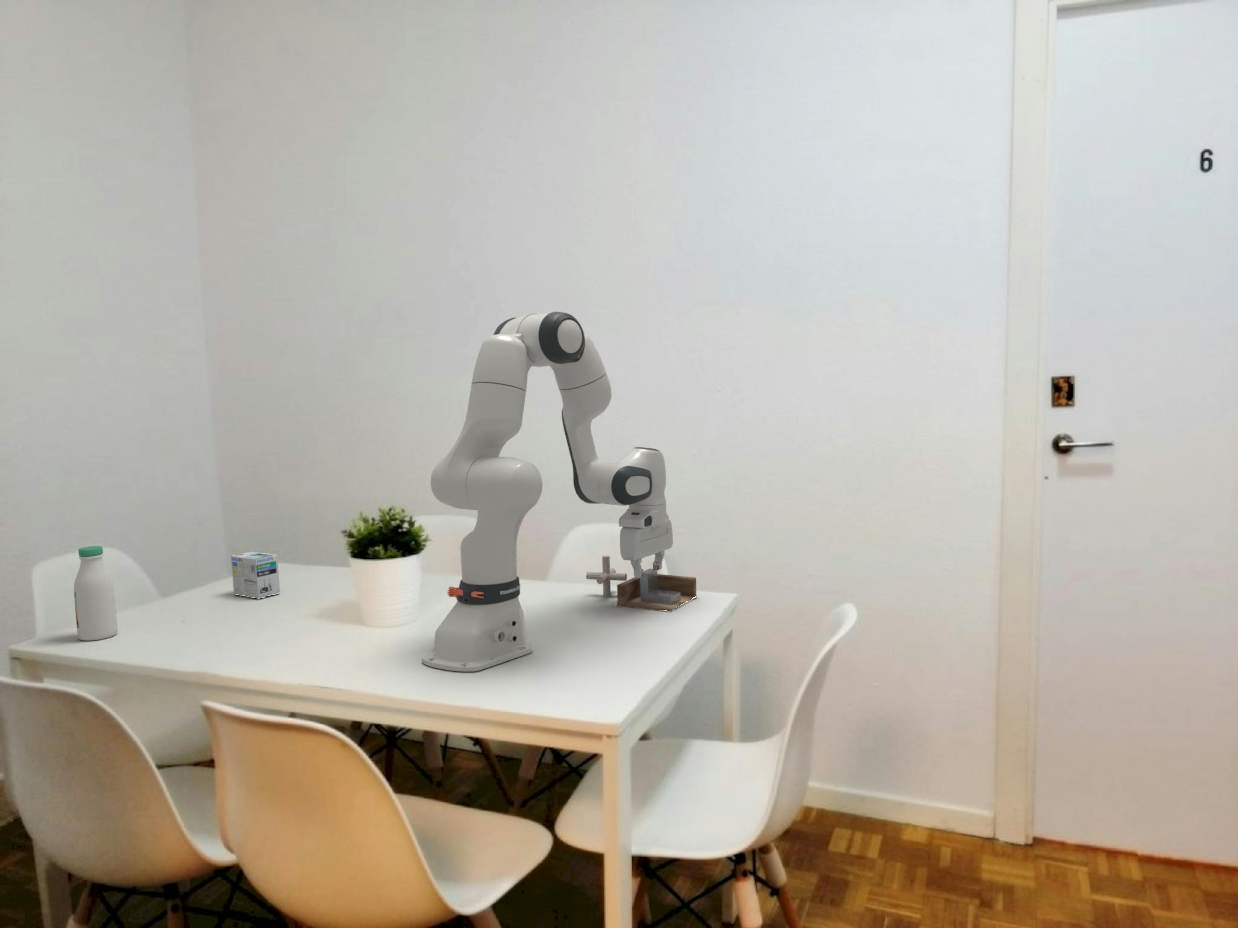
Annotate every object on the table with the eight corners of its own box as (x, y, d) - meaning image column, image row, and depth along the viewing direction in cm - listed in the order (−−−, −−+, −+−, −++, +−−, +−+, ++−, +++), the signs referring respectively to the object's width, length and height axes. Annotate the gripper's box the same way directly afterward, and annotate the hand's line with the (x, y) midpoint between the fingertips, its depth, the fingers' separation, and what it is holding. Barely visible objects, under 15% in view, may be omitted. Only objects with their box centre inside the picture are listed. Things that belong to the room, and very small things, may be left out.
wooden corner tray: (670, 611, 207) (670, 590, 206) (617, 605, 214) (617, 584, 213) (696, 597, 219) (696, 577, 218) (645, 592, 226) (644, 572, 225)
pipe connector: (581, 600, 220) (579, 559, 219) (594, 590, 229) (593, 551, 228) (620, 602, 217) (619, 561, 216) (632, 592, 226) (631, 552, 225)
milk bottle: (126, 632, 202) (118, 544, 200) (97, 642, 195) (89, 551, 193) (98, 630, 205) (90, 543, 203) (69, 640, 197) (61, 550, 195)
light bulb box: (281, 594, 235) (278, 553, 234) (258, 600, 229) (255, 558, 228) (255, 590, 240) (252, 550, 239) (232, 595, 235) (229, 555, 234)
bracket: (640, 601, 214) (640, 572, 214) (650, 596, 219) (649, 568, 218) (671, 605, 210) (670, 575, 210) (680, 600, 215) (679, 571, 214)
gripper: (656, 509, 224) (656, 564, 225) (614, 520, 206) (615, 579, 208) (678, 510, 221) (679, 566, 222) (638, 521, 203) (639, 582, 204)
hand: (648, 573), depth 215 cm, fingers open, 8 cm apart
